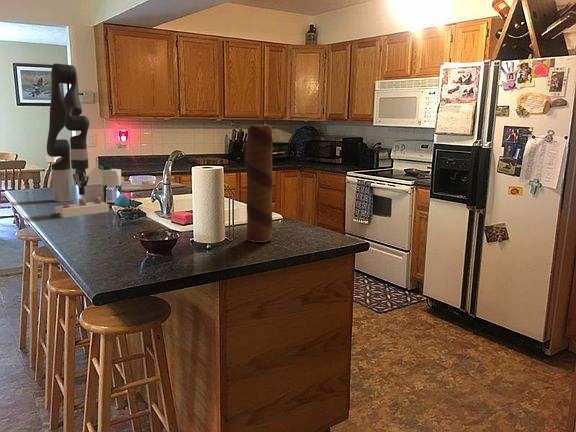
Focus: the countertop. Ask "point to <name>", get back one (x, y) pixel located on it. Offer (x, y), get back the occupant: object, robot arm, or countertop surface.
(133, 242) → the countertop surface
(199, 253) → the countertop surface
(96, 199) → the button
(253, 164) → the wafer roll
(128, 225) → the countertop surface
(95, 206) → the button panel
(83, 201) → the button
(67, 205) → the button
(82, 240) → the countertop surface
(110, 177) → the milk carton
